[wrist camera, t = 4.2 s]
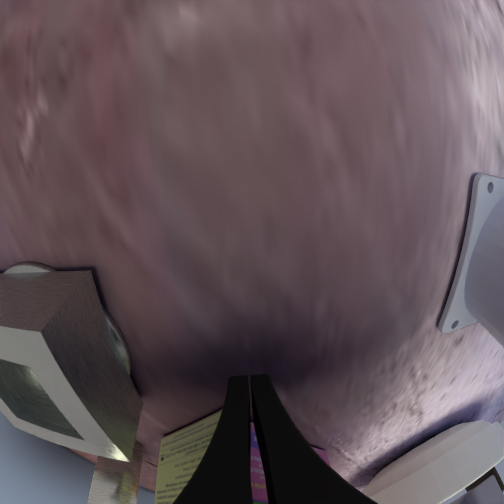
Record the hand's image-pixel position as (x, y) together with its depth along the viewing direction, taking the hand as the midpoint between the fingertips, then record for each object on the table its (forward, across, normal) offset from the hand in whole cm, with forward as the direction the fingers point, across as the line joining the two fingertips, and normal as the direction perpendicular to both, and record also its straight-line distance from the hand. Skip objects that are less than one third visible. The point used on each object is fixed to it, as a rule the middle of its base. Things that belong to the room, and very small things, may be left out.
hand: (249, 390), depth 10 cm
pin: (+1, +9, +8) cm, 12 cm away
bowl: (+2, -20, +21) cm, 29 cm away
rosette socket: (+1, +9, -2) cm, 9 cm away
